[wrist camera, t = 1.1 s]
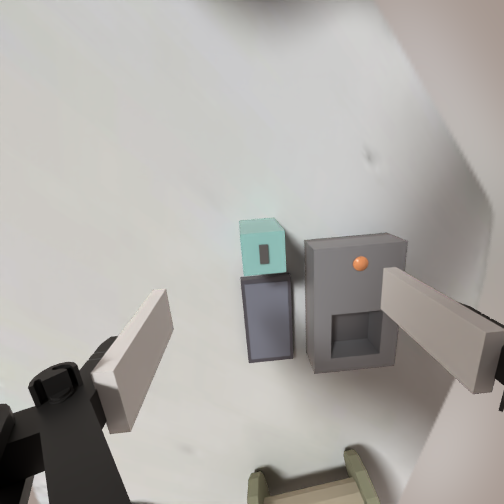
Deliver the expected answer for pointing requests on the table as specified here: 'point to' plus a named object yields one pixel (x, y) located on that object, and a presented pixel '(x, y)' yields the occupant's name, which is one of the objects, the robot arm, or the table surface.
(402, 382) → the table surface
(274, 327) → the phone
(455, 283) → the table surface
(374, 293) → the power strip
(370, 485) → the spool
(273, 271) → the block
